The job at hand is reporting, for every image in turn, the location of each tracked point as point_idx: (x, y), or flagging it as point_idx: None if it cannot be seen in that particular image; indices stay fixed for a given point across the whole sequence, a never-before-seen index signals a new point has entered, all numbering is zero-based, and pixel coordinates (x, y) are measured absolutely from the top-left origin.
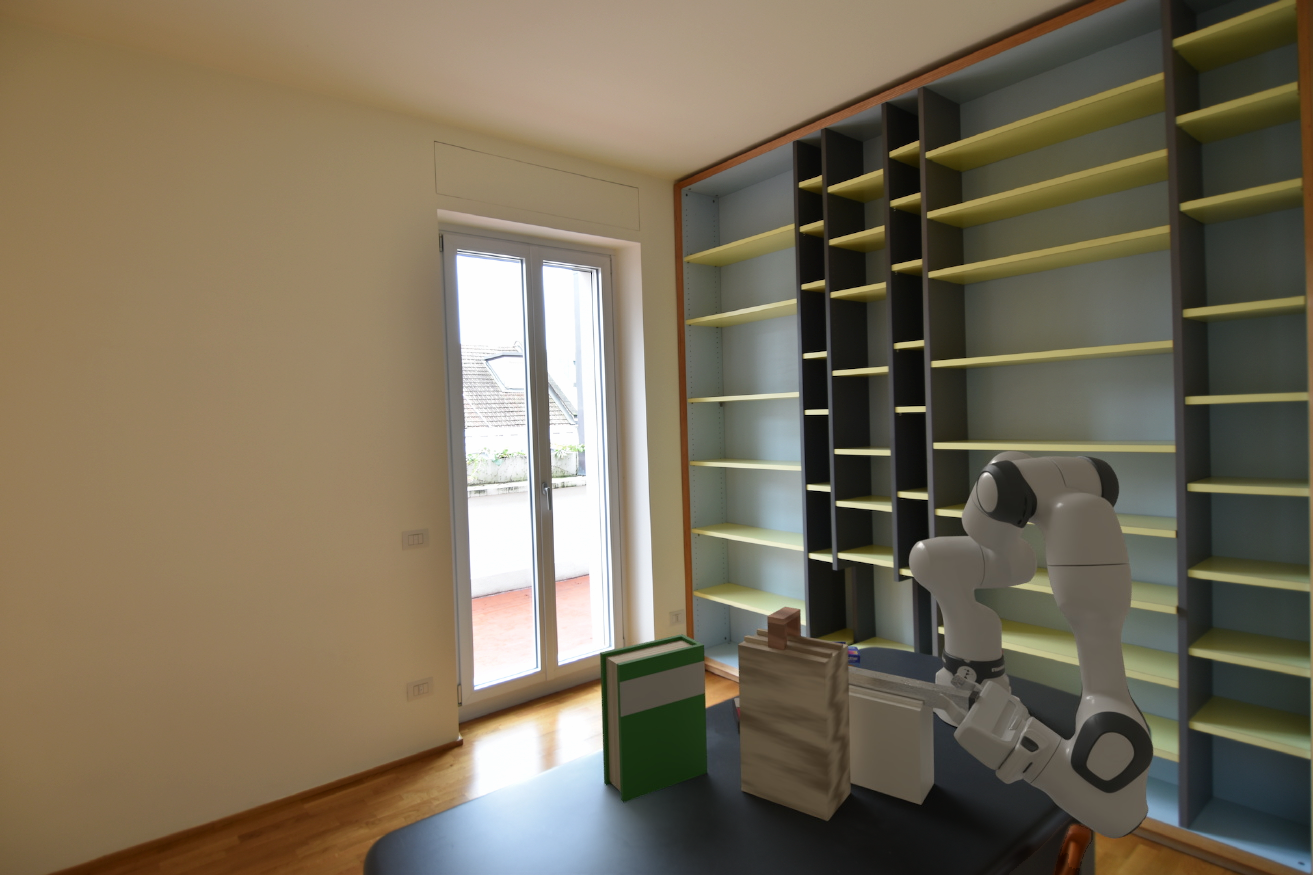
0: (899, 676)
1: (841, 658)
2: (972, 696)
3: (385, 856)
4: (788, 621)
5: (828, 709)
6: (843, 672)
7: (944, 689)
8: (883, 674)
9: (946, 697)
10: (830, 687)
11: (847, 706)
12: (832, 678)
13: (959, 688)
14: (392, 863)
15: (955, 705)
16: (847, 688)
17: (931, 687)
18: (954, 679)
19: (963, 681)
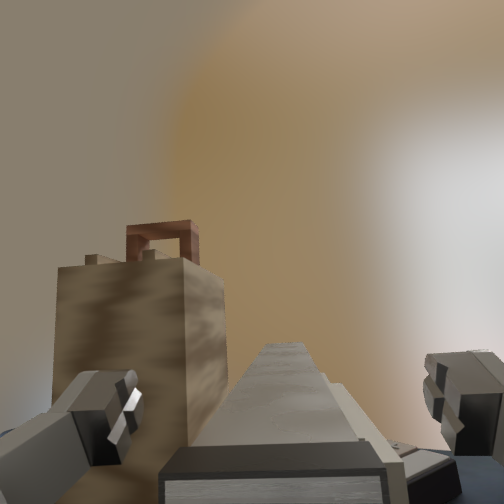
0: (308, 358)
1: (144, 279)
2: (208, 458)
3: (13, 429)
4: (145, 233)
5: (66, 375)
6: (154, 315)
7: (270, 396)
8: (295, 353)
9: (79, 389)
10: (81, 328)
11: (176, 407)
12: (93, 311)
13: (455, 448)
14: (3, 433)
15: (11, 442)
16: (177, 360)
17: (265, 383)
18: (430, 377)
19: (456, 390)
